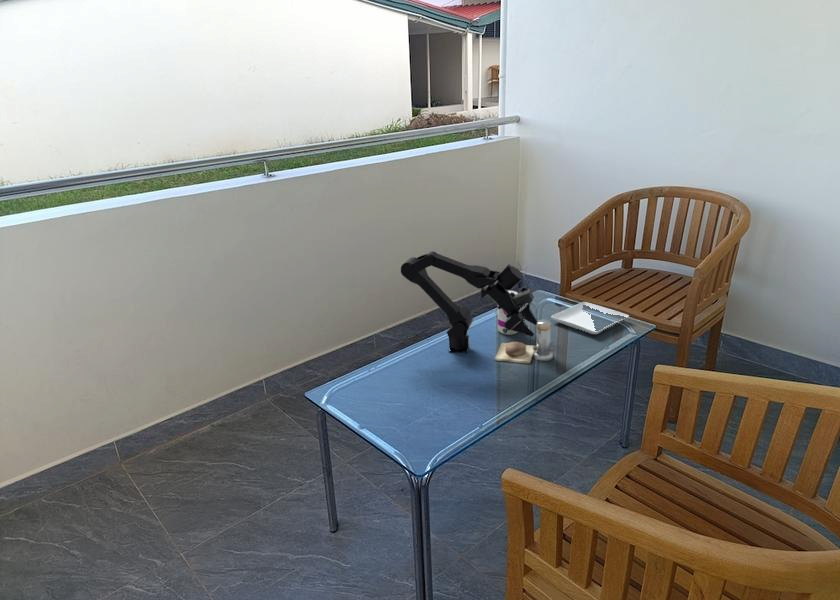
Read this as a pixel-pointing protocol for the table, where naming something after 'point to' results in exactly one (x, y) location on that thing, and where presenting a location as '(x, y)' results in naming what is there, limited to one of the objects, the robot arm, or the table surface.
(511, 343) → the beige square tile
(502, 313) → the supplement can
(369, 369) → the table surface
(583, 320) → the salad plate
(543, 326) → the grey tall flared piece
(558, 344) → the table surface
